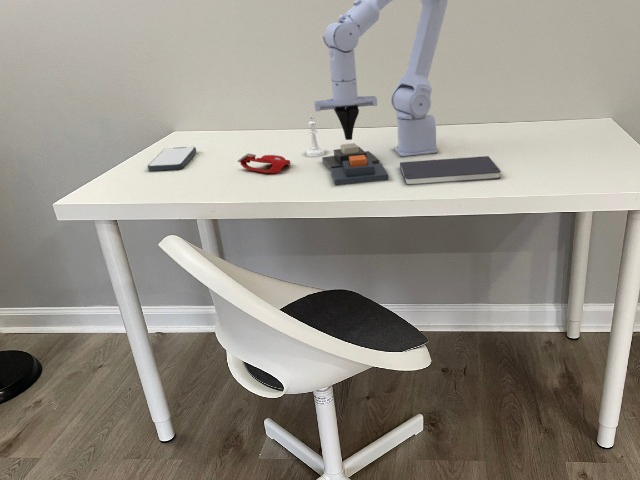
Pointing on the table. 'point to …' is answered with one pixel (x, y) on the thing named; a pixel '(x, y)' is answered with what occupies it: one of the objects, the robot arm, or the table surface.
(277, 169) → the red curved piece
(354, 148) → the cream key
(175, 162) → the phone case
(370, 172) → the slotted grey holder
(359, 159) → the orange key
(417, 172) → the notebook
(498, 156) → the table surface
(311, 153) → the chess piece
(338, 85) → the robot arm
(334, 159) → the dark grey stepped base
